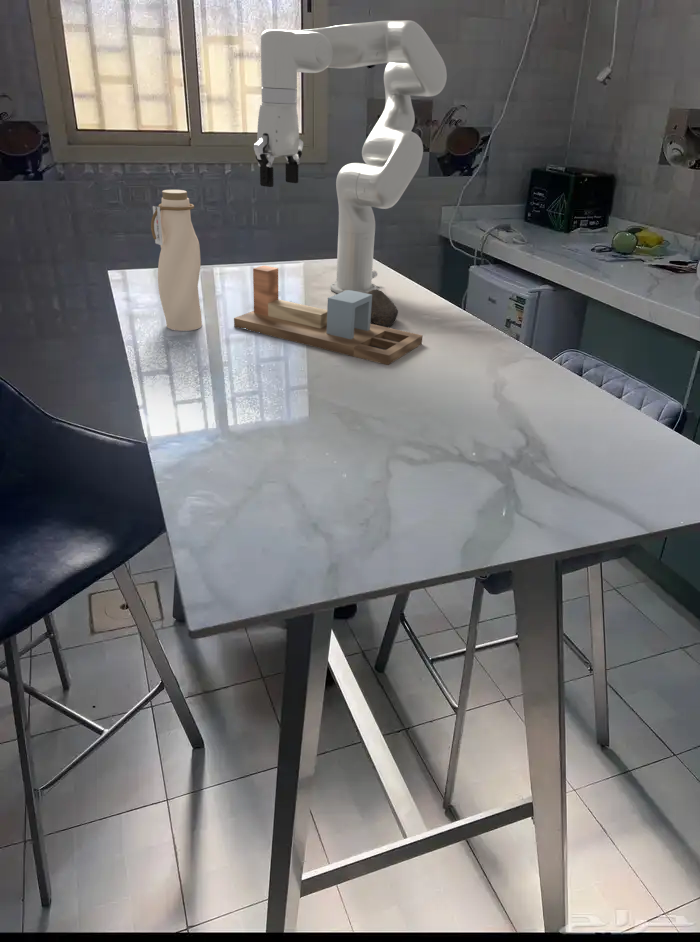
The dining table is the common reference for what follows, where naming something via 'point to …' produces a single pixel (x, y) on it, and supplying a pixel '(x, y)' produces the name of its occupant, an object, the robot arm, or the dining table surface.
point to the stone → (382, 309)
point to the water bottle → (177, 261)
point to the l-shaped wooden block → (282, 301)
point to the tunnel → (348, 313)
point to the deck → (337, 337)
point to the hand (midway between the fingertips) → (279, 184)
